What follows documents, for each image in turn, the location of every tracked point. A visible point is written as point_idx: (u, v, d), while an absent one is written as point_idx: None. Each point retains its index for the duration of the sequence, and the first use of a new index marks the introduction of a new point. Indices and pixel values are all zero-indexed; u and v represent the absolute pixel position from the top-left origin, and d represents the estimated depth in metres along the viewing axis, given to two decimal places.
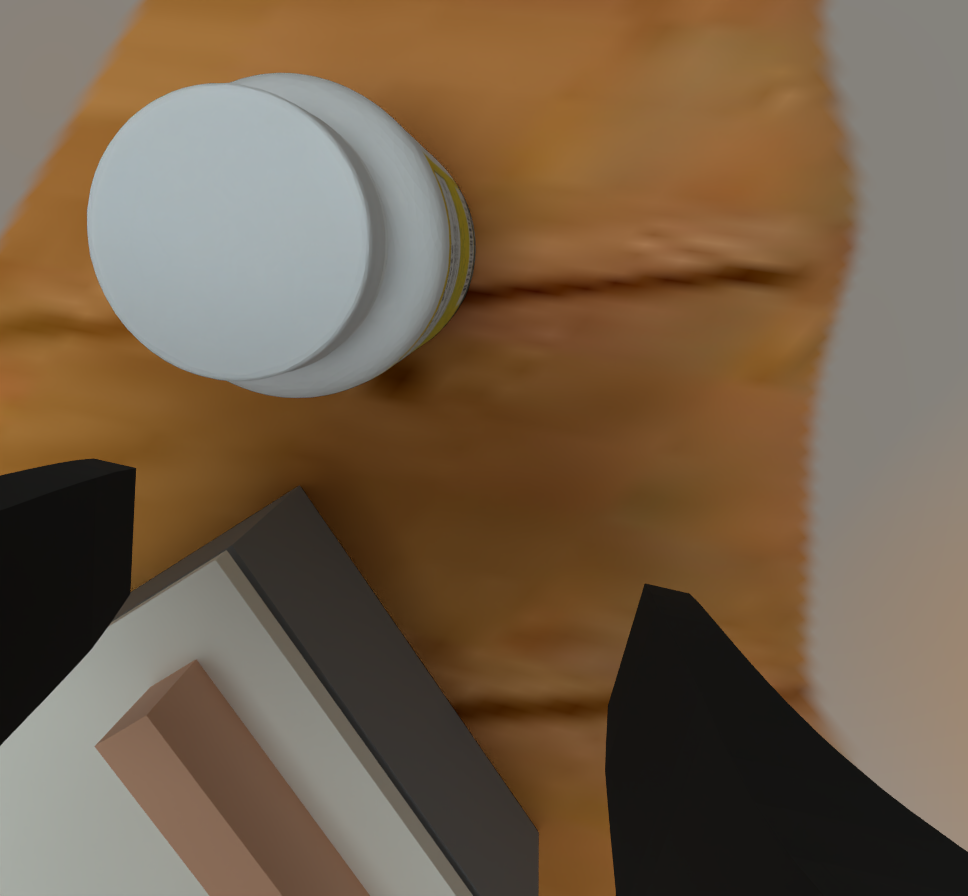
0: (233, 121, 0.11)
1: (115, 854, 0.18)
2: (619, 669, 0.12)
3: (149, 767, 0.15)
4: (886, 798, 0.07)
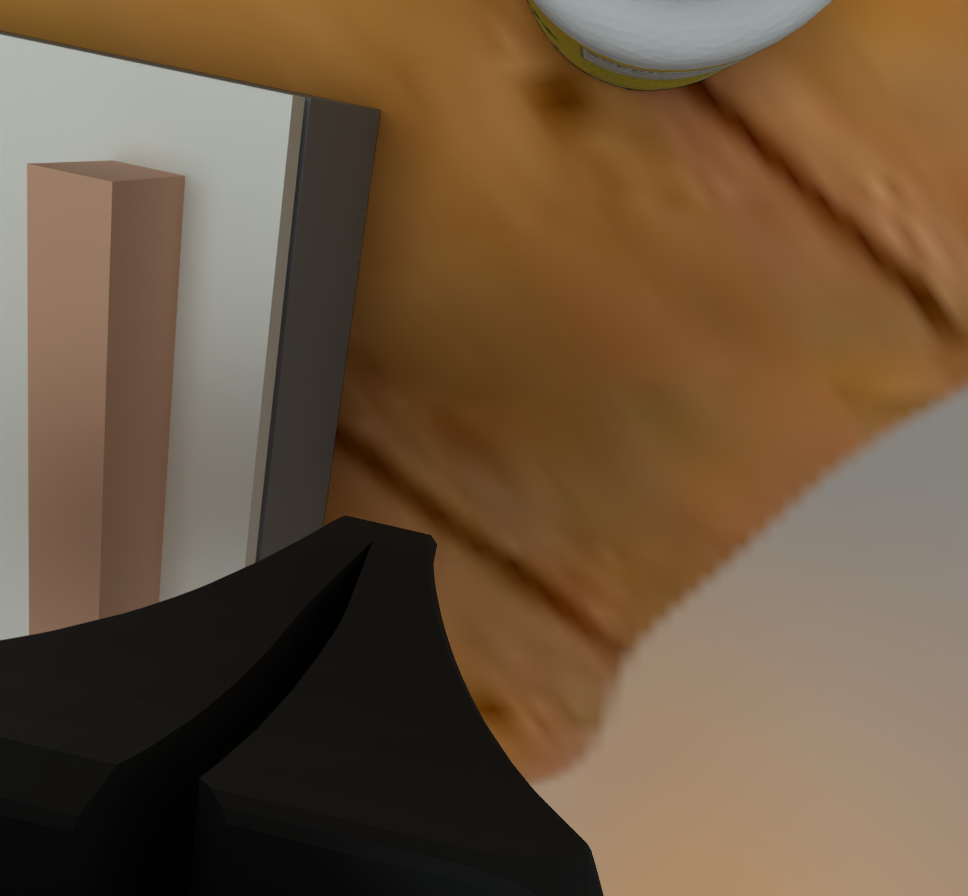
0: None
1: None
2: None
3: (70, 236, 0.12)
4: (461, 698, 0.07)
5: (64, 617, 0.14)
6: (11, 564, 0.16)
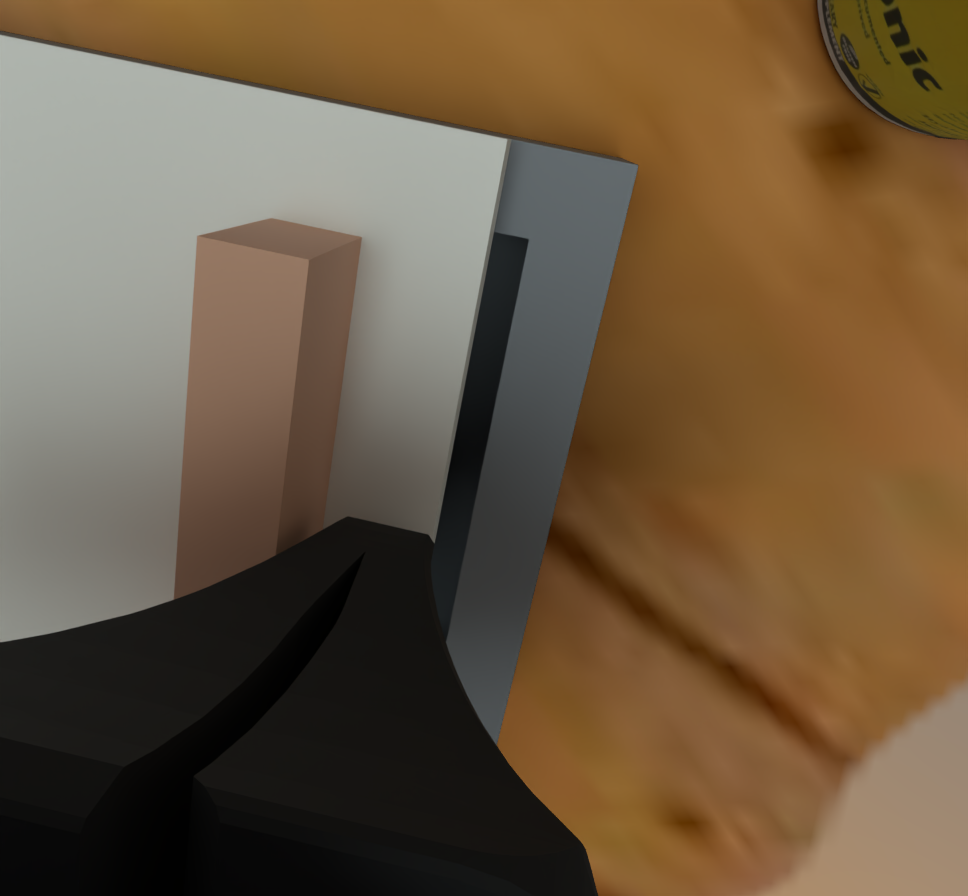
0: None
1: (43, 370, 0.12)
2: None
3: (247, 328, 0.09)
4: (456, 697, 0.07)
5: None
6: None
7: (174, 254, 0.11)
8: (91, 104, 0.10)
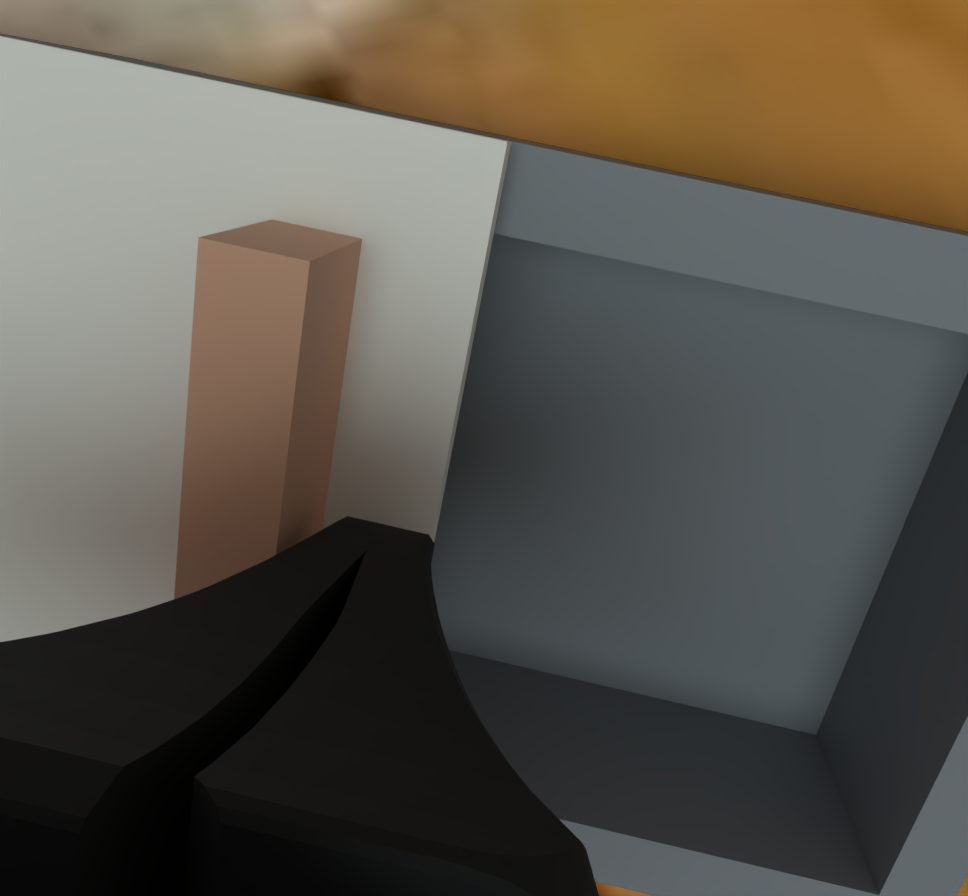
0: None
1: (44, 370, 0.12)
2: None
3: (248, 329, 0.09)
4: (457, 698, 0.07)
5: None
6: None
7: (175, 255, 0.11)
8: (92, 105, 0.11)
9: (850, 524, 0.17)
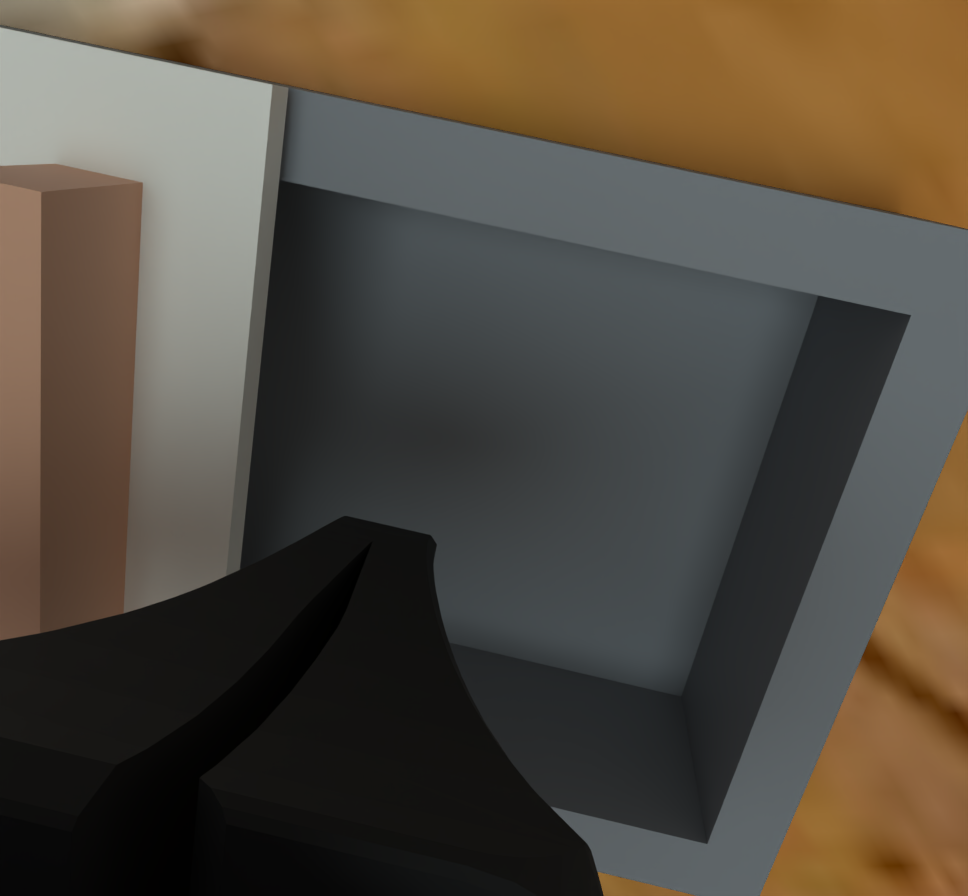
0: None
1: None
2: None
3: None
4: (461, 699, 0.07)
5: None
6: None
7: None
8: None
9: (702, 485, 0.17)
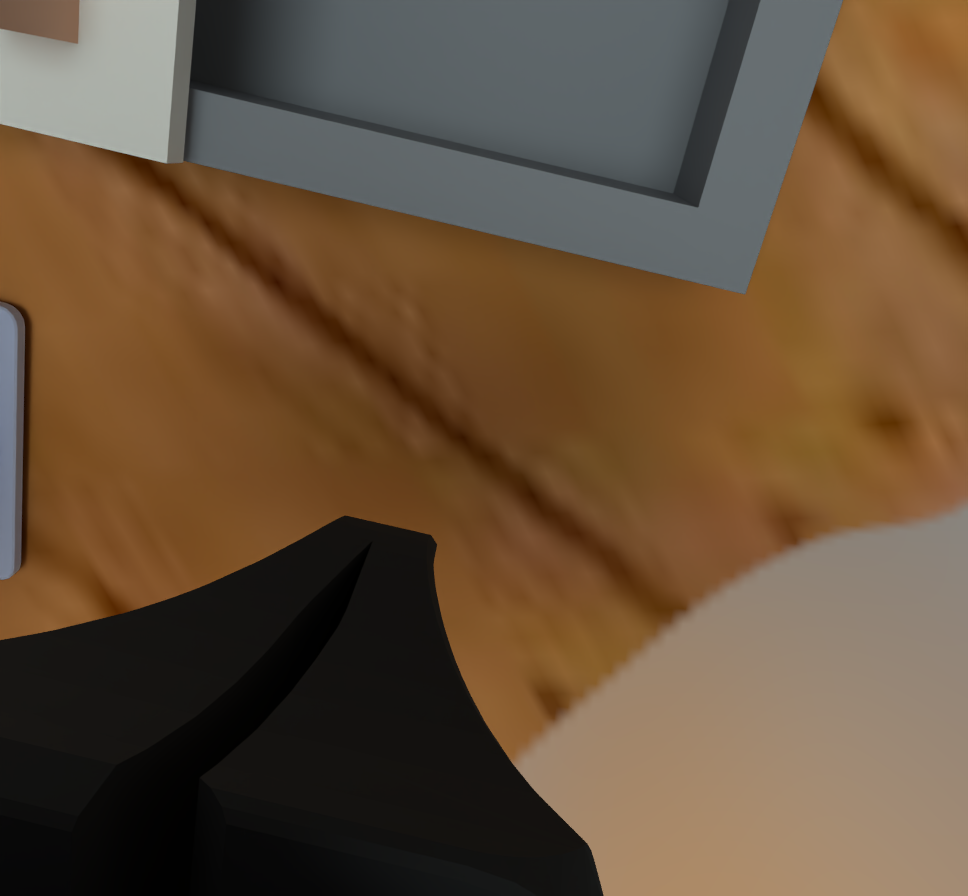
0: None
1: None
2: None
3: None
4: (461, 699, 0.07)
5: None
6: None
7: None
8: None
9: None
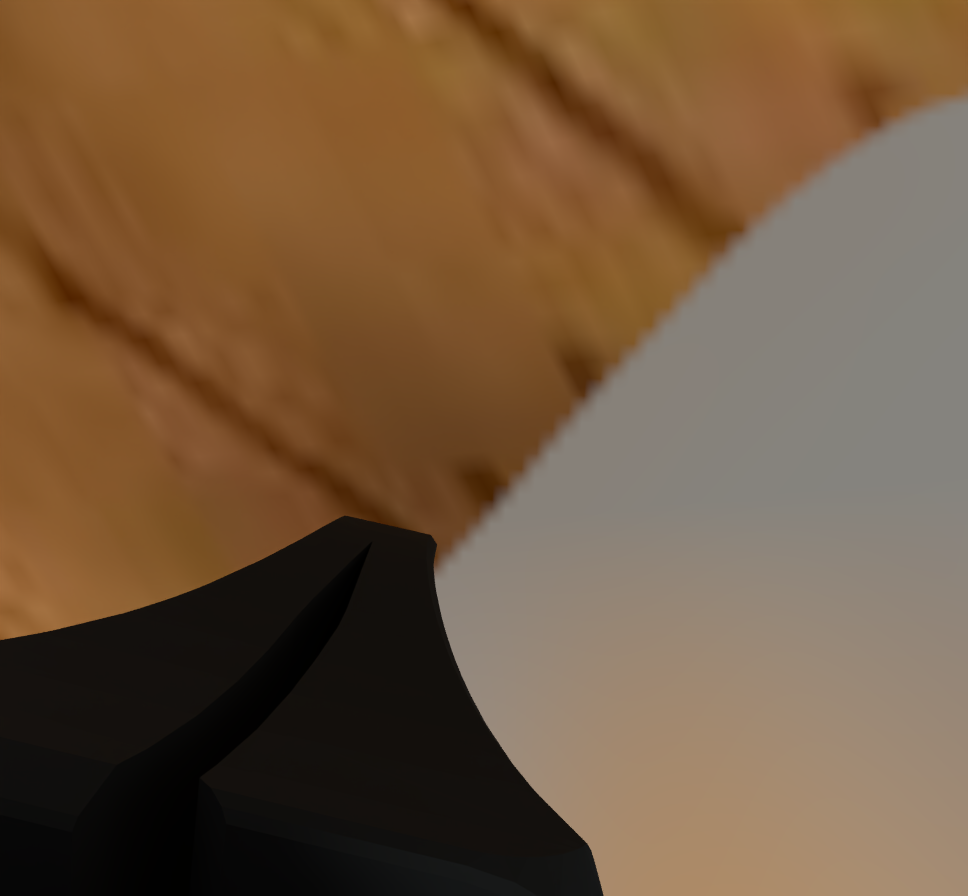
0: None
1: None
2: None
3: None
4: (461, 698, 0.07)
5: None
6: None
7: None
8: None
9: None
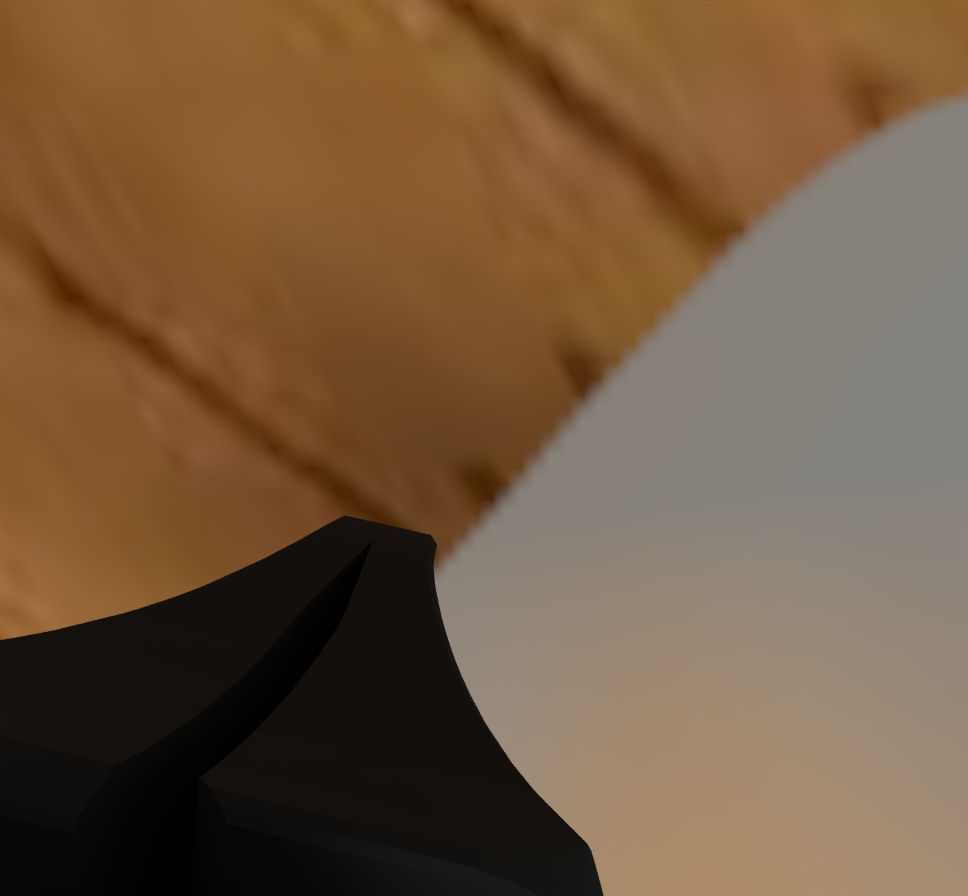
0: None
1: None
2: None
3: None
4: (461, 698, 0.07)
5: None
6: None
7: None
8: None
9: None
